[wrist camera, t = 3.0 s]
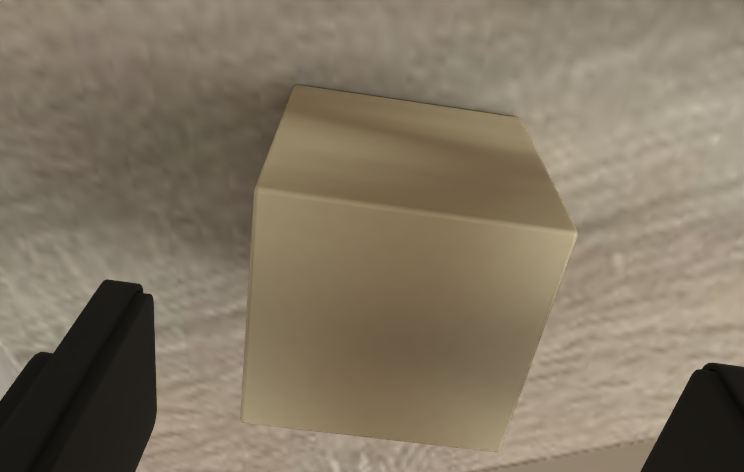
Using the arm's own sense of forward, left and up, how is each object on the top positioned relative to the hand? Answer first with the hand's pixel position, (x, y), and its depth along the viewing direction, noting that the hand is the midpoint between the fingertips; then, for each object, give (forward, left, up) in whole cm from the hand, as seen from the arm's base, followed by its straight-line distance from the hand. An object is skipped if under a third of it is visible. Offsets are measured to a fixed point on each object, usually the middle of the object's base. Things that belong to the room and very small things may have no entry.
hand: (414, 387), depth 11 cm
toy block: (0, 0, -7) cm, 7 cm away
